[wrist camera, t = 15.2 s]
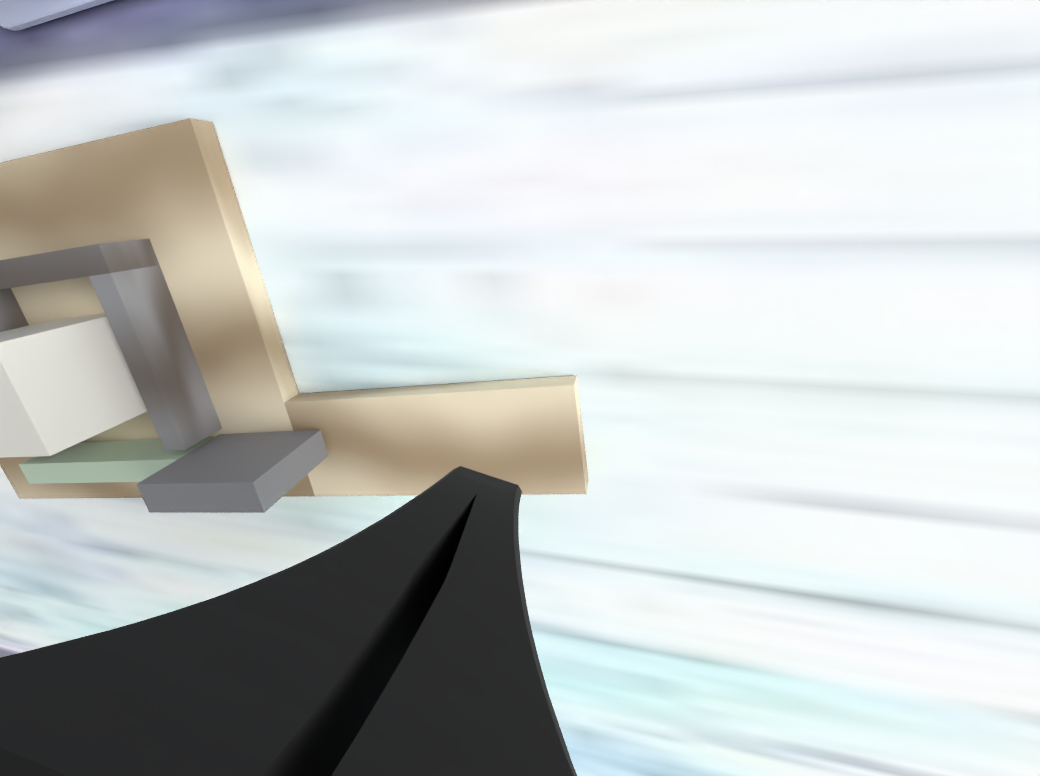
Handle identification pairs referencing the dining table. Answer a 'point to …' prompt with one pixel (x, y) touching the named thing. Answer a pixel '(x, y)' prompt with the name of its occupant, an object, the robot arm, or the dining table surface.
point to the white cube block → (62, 385)
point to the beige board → (237, 330)
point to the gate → (192, 469)
